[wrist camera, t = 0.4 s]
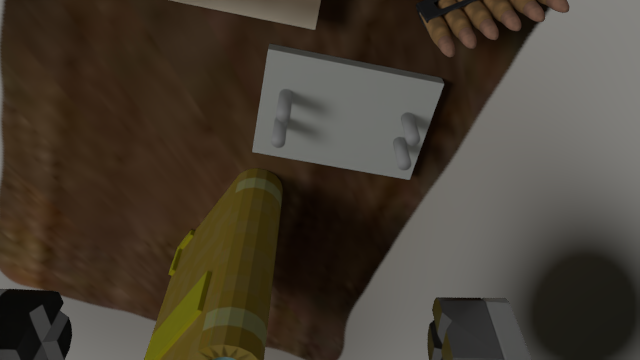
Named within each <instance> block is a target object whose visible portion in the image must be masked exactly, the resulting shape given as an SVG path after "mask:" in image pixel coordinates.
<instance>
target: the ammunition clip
mask: <svg viewBox="0 0 640 360" xmlns="http://www.w3.org/2000/svg"><path fill="white" fill-rule="evenodd" d="M538 1H539V2H540V3H542V4H545V5H547V6H548V7H550V8H552V9H553V10H555V11H558V12H562V13H563V12H568V11H569V5H568V2H567V0H538ZM512 6H513V7H514V8H515V9H516V10H517V11H519V12H521V13H523V14H525V15H526V16H527V17H529V18H530V19H531V20H534V21H537V22H542V21H544V20H545V14H544V11H543V9H542V7H541V6H540V5H539V4H538V3H537V1H536V0H424V1H422V2H420V3H417V5H416V8H417V11H418V14H419V17H420V20H421V22H422V24H423V25H424V27H425V28H426V30H427V31H428V33H429V34H430V36H431V38H432V40H433V42H434V43H435V44H436V45H438V47H439V48H440V50H441V51H442V52H443V54H445V55H446V56H448V57H453V56H454V54H455V46H454V42H453V40H452V37H451V31H452V32H453V34H454V35H455V36H456V37H458V38H459V40H461V42H462V43H463V44H464V45H465V46H466V47H468V48H471V49H473V48H475V47H476V44H477V41H476V36H475V34H474V32H473V30H472V25H471V23H472V24H473V26H474V27H475V28H477V29H479V30H480V31H481V32H482V33H483V34H484V35H485V36H486V37H487V38H489V39H492V40H496V39H498V36H499V32H498V28H497V26H496V24H495V23H494V21H493V19H492V16H493V17H494V18H495V19H496V20H498V21H500V22H501V23H503V24H504V25H505V26H506V27H507V28H509V29H510V30H513V31H519V30H520V29H521V21H520V19H519V17H518V15H517V14H516V13H515V11H514V9H513V7H512ZM465 14H466V15H465ZM467 17H468V18H467ZM443 18H444V19H445V20H444V19H443ZM445 21H446V22H447V24H448V26H447V24H446V22H445Z"/></svg>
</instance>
